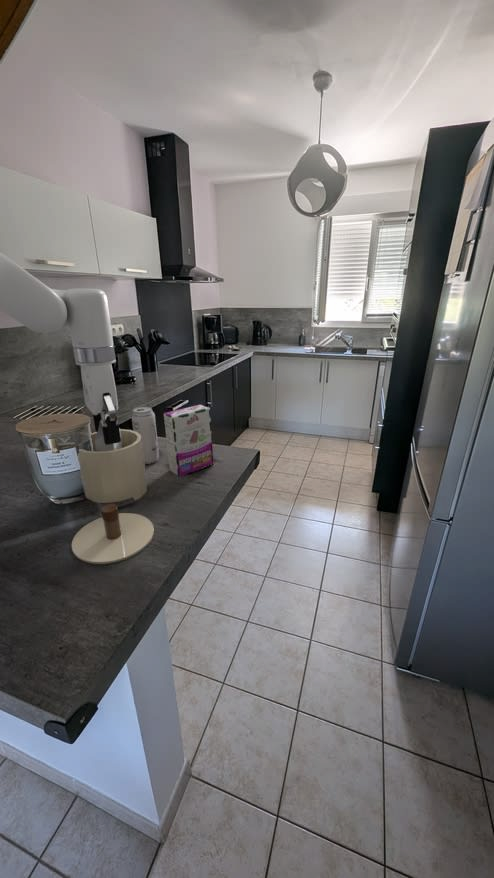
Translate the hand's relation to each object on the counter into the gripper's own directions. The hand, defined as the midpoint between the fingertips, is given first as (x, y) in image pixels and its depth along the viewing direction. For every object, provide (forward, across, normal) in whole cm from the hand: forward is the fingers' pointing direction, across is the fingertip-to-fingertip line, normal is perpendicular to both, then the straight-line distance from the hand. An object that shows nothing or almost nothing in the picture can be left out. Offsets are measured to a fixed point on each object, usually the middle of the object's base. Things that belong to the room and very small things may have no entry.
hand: (107, 436), depth 78 cm
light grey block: (+6, 0, 0) cm, 6 cm away
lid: (+14, +17, -5) cm, 22 cm away
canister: (+14, 0, 0) cm, 14 cm away
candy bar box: (+15, -2, +20) cm, 25 cm away
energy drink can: (+15, -13, +12) cm, 23 cm away
